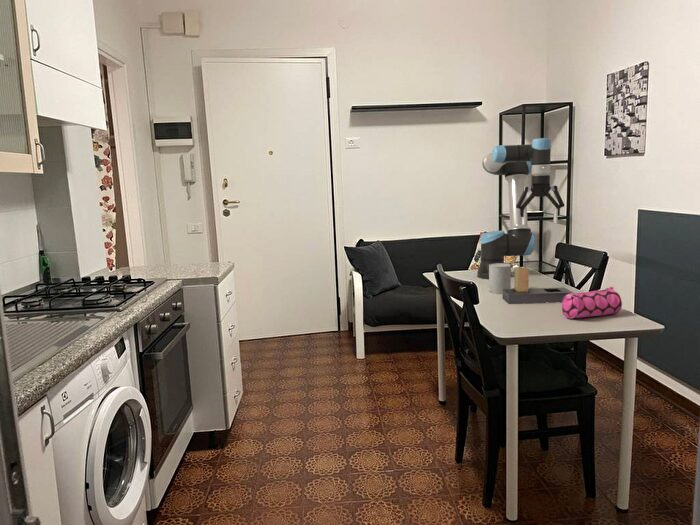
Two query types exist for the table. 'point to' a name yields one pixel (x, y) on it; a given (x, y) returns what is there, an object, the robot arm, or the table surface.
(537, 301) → the gray slotted block
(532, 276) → the table surface
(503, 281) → the gray cylinder
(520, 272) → the brass peg
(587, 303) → the pencil case
